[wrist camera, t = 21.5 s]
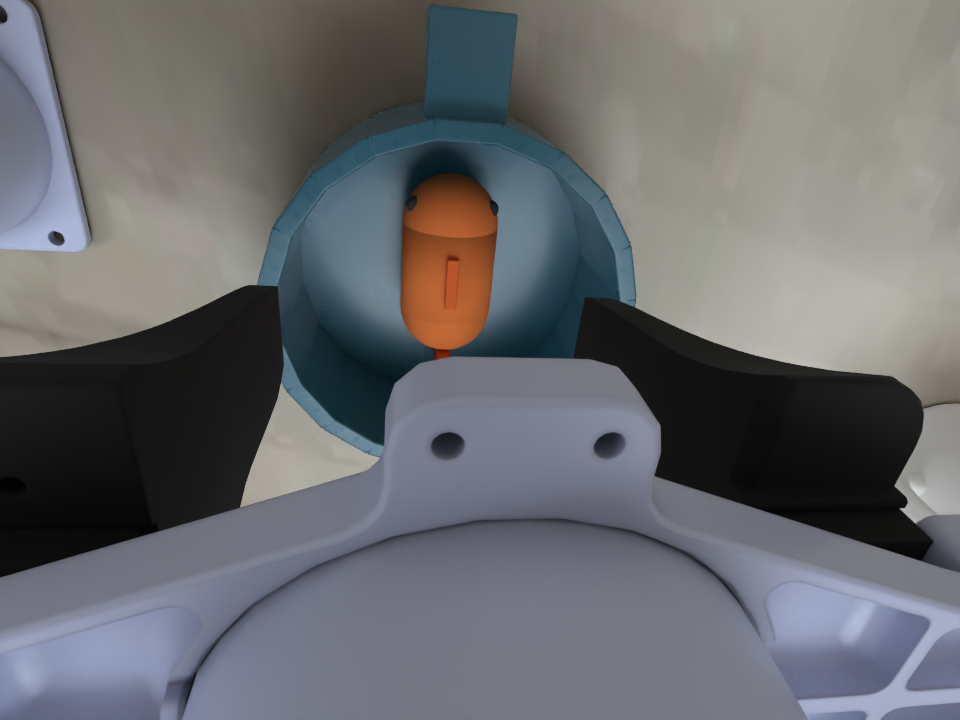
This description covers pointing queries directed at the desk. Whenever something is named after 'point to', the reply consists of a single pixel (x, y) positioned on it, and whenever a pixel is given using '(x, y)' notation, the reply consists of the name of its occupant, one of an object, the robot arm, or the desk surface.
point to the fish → (447, 261)
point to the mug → (934, 466)
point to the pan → (378, 234)
